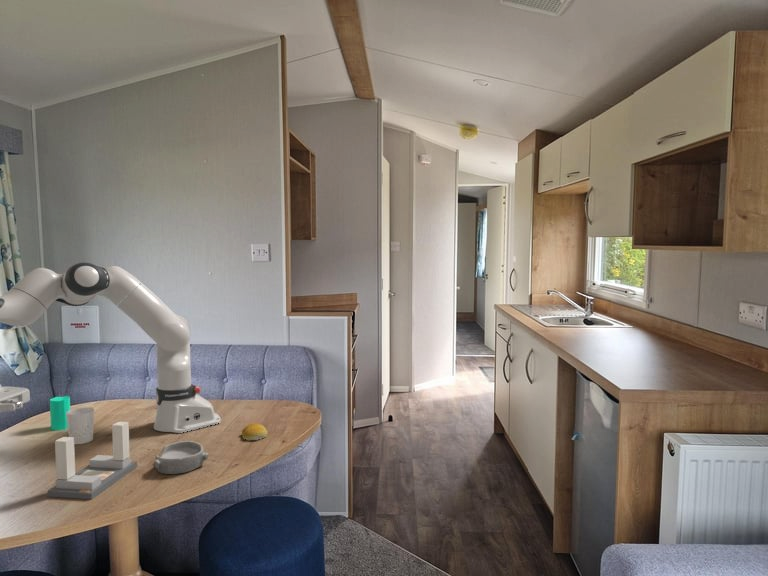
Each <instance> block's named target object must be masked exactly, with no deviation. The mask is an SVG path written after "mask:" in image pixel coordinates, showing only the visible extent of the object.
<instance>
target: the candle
mask: <svg viewBox="0 0 768 576" xmlns="http://www.w3.org/2000/svg"><path fill="white" fill-rule="evenodd" d="M69 410H71V397H70V395H64V396H61V394H60V393H59V396H55V397H53V398H50V399H49V411H50V412H49V413H50V416H49V417H50V429H52V430H51V431H55V430H56V431H63V430H68V428H67V417H66V412H67V411H69Z"/></svg>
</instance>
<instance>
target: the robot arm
mask: <svg viewBox="0 0 768 576" xmlns="http://www.w3.org/2000/svg"><path fill="white" fill-rule="evenodd" d="M96 296H101V297H104V298H106V299H108V300H109V301H110V302H111V303H113V305H115V306H116V307H117V308H118V309H120V311H122V312H123V313H124V314H125V315H126V316H128V317H129V318H130V319H131V320H132V321H133V322H134V323H136V325H138V327H140V329H142V331H143V332H145V333H146V335H148V336H149V338H150V339H151V340H153V341H154V343H156V376H157V377H156V378H157V379H156V380H157V386H156V391H155V399H156V400H155V402H156V414H155V420H154V423H153V429H154V430H155V431H158V432H161V433H163V432H164V433H175V434H183V432H184V433H187V431H188V432H191V430H192V431H196V430H199V428H200V429H203V427H204V428H207V426H208V427H211V426H210V425H212V426H215V424H216V425H219V424H220V423H221V422H222V418H221V416H220V414H218V413H216V412H215V410H214V407H213V404H212V403H211V402H210V401H209V400H207V399H206V398H204V397H202V396H201V395H199V394H200V392H201V388H200V387H199V386H198V385H195V384H193V383H192V371H191V370H192V369H191V368H192V367H191V340H190V339H191V329H190V325H189V324H190V323H188V321H187V320H186V318H184V317H183V316H181V315H179V314H176V313H175V312H173V310H172V309H171V308H170V307H168V305H166V303H165V302H164V301H162V300H161V298H160V297H158V296H157V294H155V293H154V292H153V291H152V290H151V289H150V288H149V287H147V286H146V285H145V284H144V283H143V282H141V281H140V280H139V279H138V278H137V277H136V276H134V275H133V274H131V273H130V272H129V271H127V270H126V269H123V268H122V267H120V266H117V265H112V266H108V267H103V266H102V267H101V266H98V265H96V264H93V263H90V262H78V263H75V264H73V265H71V266H70V267H69V268H68V269H67V270H66V271H65V272H64V273H56V272H55V271H54V270H52V269H50V268H49V269H48V268H45V267H37V268H34V269H33V270H32V271H30V272H28V273H27V274H26V275H24V276H23V277H22V278H21V279H19V281H17V282H16V283H15V284H14V285H13V286H12V287H11V288H10V289H9V290H8V291H7V292H5V293H4V294H2V295H1V296H0V323H1V324H4V325H8V326H11V327H12V326H13V327H25V326H30V325H31V324H34V323H35V322H36V321H37V320H39V319H40V318H41V317H42V316H43V315H44V313H45V312H46V311H47V310H48V309H49V307H50V306H51V305H52V304H53V303H54V302H60V303H63V304H65V305H67V306H71V307H81V306H84V305H86V304H88V303H90V302H91V301H92V300H93V299H94V298H95V297H96ZM30 393H31V392H30V389H29V388H26V387H21V386H20V387H19V386H6V385H5V386H2V384H0V413H5V412H14V411H17V410H20V409H23V406H24V404H26V403H29V402H30V401H31V394H30ZM218 423H219V424H218Z"/></svg>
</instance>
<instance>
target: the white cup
mask: <svg viewBox="0 0 768 576" xmlns="http://www.w3.org/2000/svg"><path fill="white" fill-rule="evenodd" d="M66 417H67V433H68V437H74V445H84V444H87V443H90V442H91V441H93V440H94V431H95V428H94V427H95V409H94V408H93V407H89V406H88V407H87V406H86V407H85V406H84V407H78V408H77V407H76V408H73V409H70V410H69V411H67V412H66Z"/></svg>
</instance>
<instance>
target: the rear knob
mask: <svg viewBox="0 0 768 576" xmlns="http://www.w3.org/2000/svg"><path fill="white" fill-rule="evenodd" d="M129 427H130V424H129V421H117V422H115V423H114V424H111V428H112V431H111V433H112V456H113V460H125V459H126V458H128V457H131V455H130V454H131V453H130V428H129Z"/></svg>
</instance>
